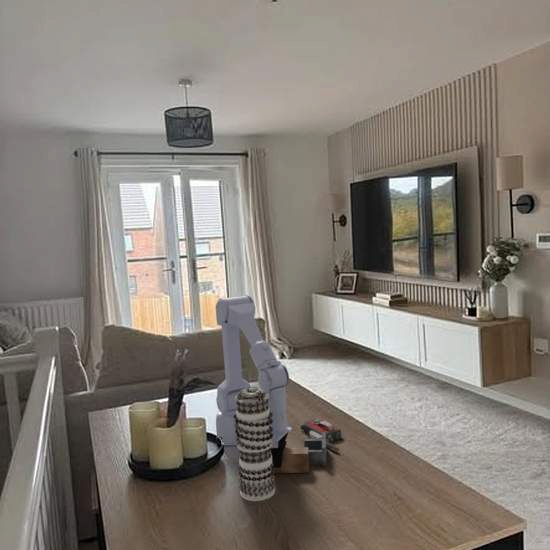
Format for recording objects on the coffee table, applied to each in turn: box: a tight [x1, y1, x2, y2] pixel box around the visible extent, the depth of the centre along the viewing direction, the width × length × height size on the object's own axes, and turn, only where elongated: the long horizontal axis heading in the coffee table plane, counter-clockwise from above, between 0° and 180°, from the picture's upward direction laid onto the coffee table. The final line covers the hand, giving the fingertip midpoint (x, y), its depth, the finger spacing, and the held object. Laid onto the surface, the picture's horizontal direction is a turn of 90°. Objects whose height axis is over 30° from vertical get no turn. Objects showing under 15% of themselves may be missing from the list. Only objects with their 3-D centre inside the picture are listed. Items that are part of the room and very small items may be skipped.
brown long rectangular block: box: [271, 446, 310, 474], centre depth 133 cm, size 16×4×5 cm, turn 84°
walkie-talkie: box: [300, 418, 342, 452], centre depth 151 cm, size 9×4×20 cm
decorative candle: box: [233, 386, 276, 502], centre depth 122 cm, size 9×9×25 cm
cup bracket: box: [303, 432, 327, 467], centre depth 139 cm, size 6×10×5 cm, turn 175°
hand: (277, 463), depth 133 cm, fingers closed on brown long rectangular block, 4 cm apart
